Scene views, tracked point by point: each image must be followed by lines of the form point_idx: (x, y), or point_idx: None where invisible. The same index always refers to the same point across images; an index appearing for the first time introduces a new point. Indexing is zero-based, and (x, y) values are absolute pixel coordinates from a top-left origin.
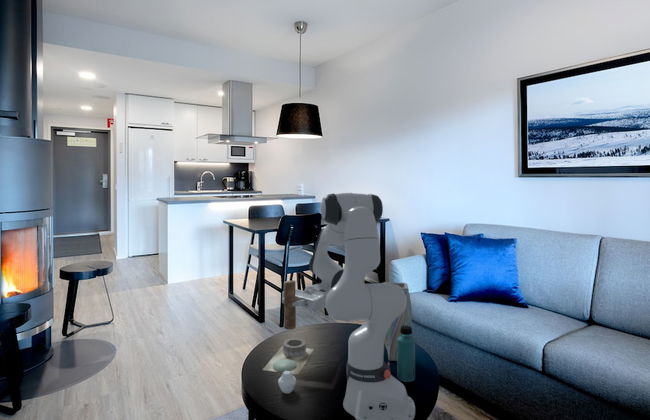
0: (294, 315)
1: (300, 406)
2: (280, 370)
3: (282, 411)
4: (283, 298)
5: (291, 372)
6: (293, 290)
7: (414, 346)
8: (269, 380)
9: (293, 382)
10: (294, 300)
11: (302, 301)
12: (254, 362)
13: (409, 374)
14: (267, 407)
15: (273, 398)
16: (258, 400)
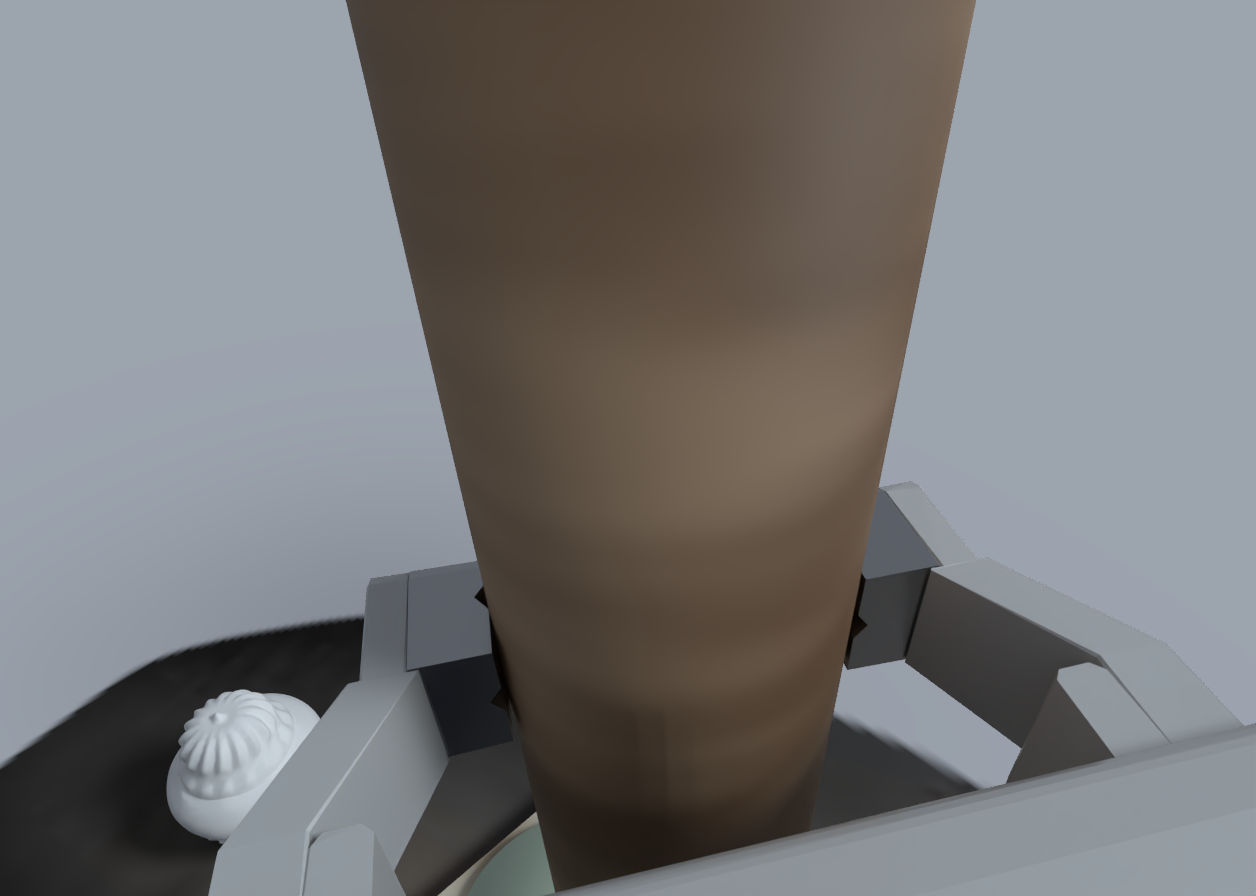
0: (548, 854)
1: (61, 796)
2: (505, 846)
3: (144, 683)
4: (928, 501)
5: (203, 763)
6: (411, 268)
7: None
8: (505, 758)
9: (168, 779)
10: (493, 617)
11: (238, 845)
12: (866, 769)
13: None
14: (252, 634)
15: (292, 692)
16: (351, 619)
